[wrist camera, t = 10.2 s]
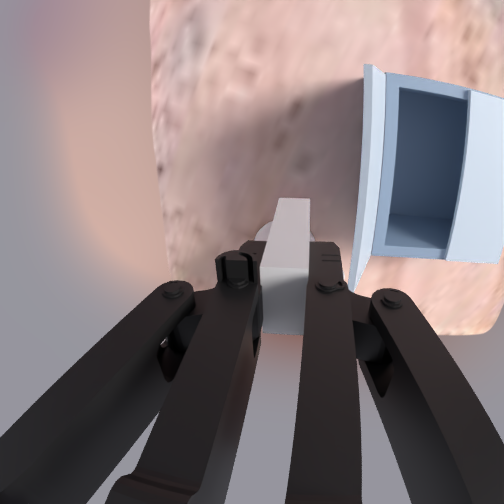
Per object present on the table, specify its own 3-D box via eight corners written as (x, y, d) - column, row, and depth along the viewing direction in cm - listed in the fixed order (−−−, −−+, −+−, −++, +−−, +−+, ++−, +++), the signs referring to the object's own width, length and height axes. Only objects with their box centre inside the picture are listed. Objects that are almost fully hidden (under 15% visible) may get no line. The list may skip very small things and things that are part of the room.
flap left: (370, 254, 31) (365, 252, 31) (385, 74, 23) (378, 73, 23) (353, 292, 26) (346, 291, 26) (372, 64, 17) (363, 63, 18)
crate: (359, 218, 40) (371, 255, 31) (366, 77, 32) (386, 72, 23) (465, 226, 38) (496, 262, 29) (482, 98, 29) (525, 105, 20)
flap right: (444, 257, 30) (445, 260, 29) (468, 90, 22) (470, 90, 21) (495, 261, 29) (498, 263, 28) (524, 107, 20) (527, 107, 20)
